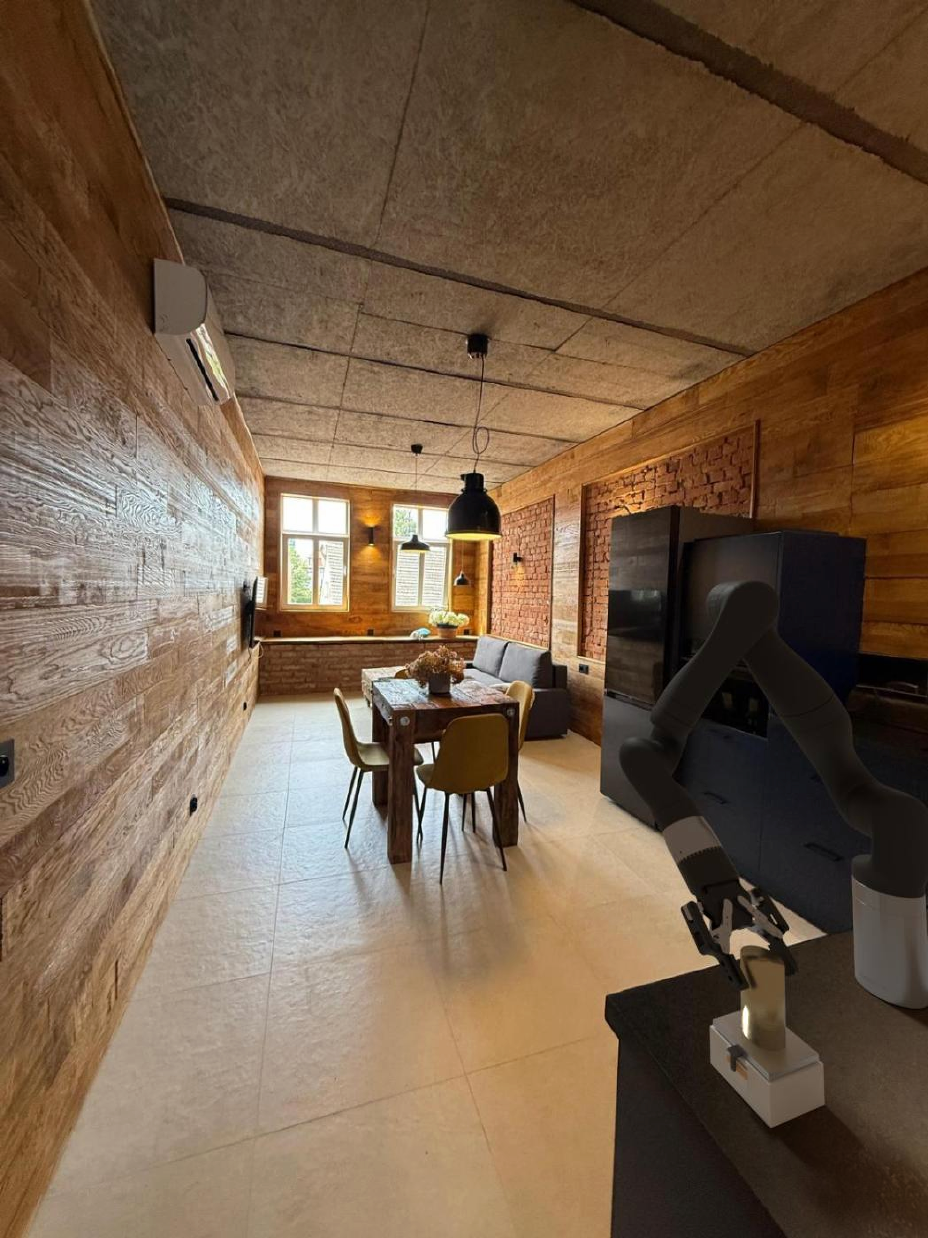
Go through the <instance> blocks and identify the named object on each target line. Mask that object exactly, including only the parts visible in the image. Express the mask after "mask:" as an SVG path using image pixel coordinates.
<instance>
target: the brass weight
mask: <svg viewBox="0 0 928 1238" xmlns="http://www.w3.org/2000/svg"><path fill="white" fill-rule="evenodd" d="M739 951H740V952H739V954H740V955H739V959H740V962H739V966H740V968H741V970H742V972H743V974H744V976H745V978H746V979H747V981H748V983H749V989H746V990H743V991H740V1010H741V1028H742V1031H743V1033H744V1034H745V1036H746V1037H747V1038H748V1039H749V1040H750V1041H751V1042H753V1043H754V1044H756V1045H757V1046H759V1047H761V1048H764V1049H767V1050H771V1051H779V1050H782V1049H784V1047H785V1045H786V1029H785V1026H786V985H785V984H786V983H785V980H786V979H785V978H786V976H785V969H784V962H783V960H782V959H781V958H780V957H779V956H778V955H777V954H775V953H774V952H772V951H770V949H769V948H766V947H763V946H760V945H752V944H748V945H744V946H742V947H741V948H740V950H739Z"/></svg>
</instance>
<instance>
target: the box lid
mask: <svg viewBox="0 0 928 1238" xmlns="http://www.w3.org/2000/svg"><path fill="white" fill-rule="evenodd" d="M712 1025H713V1026H714V1027H715V1028H716V1029H717V1030H718V1031H719V1032H720V1033H721V1034H722V1035H723V1036H724V1037H726V1038H727V1039H728V1040H729V1041H730V1042H731V1043H732V1044H733V1046H731V1047H728V1051H729V1052H730V1067H731V1070H732V1071H733V1072H736V1058H739V1057H741V1056H743V1055H744V1056H745V1057H746V1058H747V1059H748V1060H749V1061H750V1062H751V1063H752V1064H753V1065H754V1066H755V1067H756V1068H757V1069H758V1070H759V1071H760V1072H761V1073H762V1074H763V1075H764V1076H765V1077H766V1078H767V1079H768V1080H771V1079H774V1078H776V1077H779V1076H781V1075H784V1074H786V1073H789V1072H792V1071H794V1070H797V1069H799V1068H802V1067H804V1066H807V1065H809V1064H812V1063H814V1062H817V1061H820V1053H818V1052H817V1051H816V1050H815V1049H813V1048H812V1047H811V1046H810V1045H809V1044H808V1043H807V1042H806V1041H804V1040H802V1038H800V1037H799V1036H798V1035H797V1034H796V1033H795V1032H793V1031H792V1030H790V1028H789V1027H788V1026H786V1025H785V1029H786V1045H785V1047H784V1049H782V1050H779V1051H771V1050H767V1049H764V1048H761V1047H759V1046H757V1045H756V1044H754V1043H753V1042H751V1041H750V1040H749V1039H748V1038H747V1037H746V1036H745V1034H744V1033H743V1031H742V1028H741V1009H740V1010H737V1011H733V1012H731V1013H728V1014H726V1015H721V1016H719V1017H716V1018H713V1019H712Z"/></svg>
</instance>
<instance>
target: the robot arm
mask: <svg viewBox="0 0 928 1238" xmlns="http://www.w3.org/2000/svg"><path fill="white" fill-rule="evenodd" d="M780 600H781V599H780V597H779V594H778V593H777V590H775V588H773V586H772V585H770V584H768V583H767V582H764V581H761V580H755V579H742V580H741V579H740V580H730V581H726V582H721V583H719V584H718V585H715V586H714V587H713V588H712V589H711V590H710V591H709V593H708V594H707V597H706V601H705V611H706V614H707V617H708V619H709V620H710V622H711V624H712V625H713V628H712V630H711V632H710V634H709V636H708V637H707V639H706V640H705V642H704V643H703V644H702V646H701V647H700V648H699V650H698V651H697V652H696V653H695V655H693V657H692V658H691V659H690V660H689V661H688V662H687V663H686V664H685V665H684V666H682V668H681V669H680V670H679V671H678V672H677V673H676V674H675V675H674V677H672V679H671V680H670V682H669V683H668V684H667V685H666V687H665V688H664V690H663V692H662V694H661V695H660V697H659V699H658V700H657V701H656V703H655V705H654V707H653V708H652V710H651V711H650V713H649V714H650V715H649V721H650V723H651V724H652V725H653V728H652V730H651V733H650V735H649V737H648V739H647V738H645V737H642V736H631V737H628V738H626V739H625V740H624V741H623V742H622V743H621V745H620V747H619V750H618V761H619V764H620V768H621V770H622V771H623V774H624V776H625V777H626V779H627V780H628V782H629V784H630V785H631V786H632V787H633V789H634V790H635V792H636V793H637V794H638V795H639V797H640V798H641V799H642V800H643V802H644V803H645V804H646V805H647V807H648V808H649V811H650V812H651V815H652V817H653V819H654V821H655V823H656V825H657V827H658V828H659V831H660V832H661V834H662V837H663V839H664V842H665V845H666V848H667V849H668V852H669V854H670V855H671V857H672V860H673V861H674V863H675V866H676V867H677V869H678V872H679V873H680V876H681V877H682V878H683V881H684V882H685V885H686V887H687V889H688V890H689V891H688V892H689V893H690V894H691V895H692V896H694V897H695V899H696V902H695V901H694V900H690V901H688V902H686V903H685V904H684V905H682V906H681V907H680V912H681V914H682V916H683V919H684V921H685V924H686V926H687V928H688V930H689V932H690V935H691V937H692V939H693V941H694V944H695V946H696V949H697V951H698V953H699V954H700V955H701V956H711V957H713V958H715V960H716V961H717V962H718V964H719V966H720V969H721V971H722V972H723V974H724V976H725V978H726V980H727V982H728V984H729V985H730V987H732V988H734V990H735V992H738V993H739V992H740V993H741V991H743V990H746V989H749V983H748V981H747V979H746V978H745V976H744V974H743V972H742V970H741V968H740V963H738V960H737V959H736V956H735V954H734V953H730V952H731V944H730V943H731V941H730V939H731V937H732V933H734V932H735V931H741V930H744V929H745V930H746V929H747V930H748V931H749V932H750V933H751V932H752V933H754V934H756V935H757V936H759V937H760V938H761V939H762V940H763V941H765V942H766V943H768V945H767V947H768V948H767V949H768V950H770V951H772V952H774V953H775V954H777V955H778V956H779V957H780V958H781V959H782V960H783V962H784V969H785V977H788V978H789V977H792V976H794V975H797V974H799V968H798V967H799V966H798V963H797V961H796V959H795V958H794V956H793V954H792V953H791V951H790V949H789V948H788V946H787V944H786V942H785V940H784V935H785V934H786V932H788V931H789V930H790V926H789V923H787V920H785V918H784V916H783V914H782V913H781V912H780V910H779V909H778V907H777V906H776V904H775V902H774V901H773V900H772V898H771V896H770V895H769V894H768V892H767V891H766V889H765V888H764V887H763V886H762V885H760V884H758V885H756V886H754V887H753V888H751V889H749V890H747V889H745V888H744V887H743V885H742V883H741V882H740V873H739V872H738V871H737V868H736V867H735V865H734V863H733V862H732V860H731V858H730V857H729V855H728V853H727V851H726V850H725V848H724V846H723V845H722V843H721V842H720V840H719V838H718V836H717V835H716V833H715V832H714V830H713V828H712V827H711V826H710V825H709V823H708V822H707V820H706V819H705V818H704V816H703V815H702V813H701V812H700V809H699V808H698V806H697V804H696V803H695V800H694V799H693V797H692V796H691V794H690V793H689V792H688V790H687V789H686V788H685V787H684V786H682V785H680V784H679V783H678V782H676V781H675V780H674V779H673V777H672V774H673V773H674V772H675V771H676V769H677V767H678V764H679V762H680V760H681V757H682V755H683V752H684V749H685V747H686V742H687V739H688V735H689V734H690V733H691V731H692V730H693V728H694V727H695V725H696V723H697V722H698V720H699V719H700V717H701V716H702V714H703V713H704V711H705V709H707V706H708V704H709V703H710V702H711V700H712V698H713V697H714V696H715V694H716V692H717V691H718V690H719V688H720V687H721V685H722V684H723V683H724V681H725V680H726V679H727V678H728V677H729V675H730V674H731V673H732V671H733V670H734V669H735V668H736V666H737V665H738V664H739V663H740V662H741V660H742V661H743V662H744V663H745V665H746V666H747V668H748V670H749V672H750V674H751V675H752V677H753V678H754V680H755V682H756V684H757V685H758V686H759V688H760V689H761V691H762V693H763V694H764V696H765V697H766V699H767V701H768V702H769V703H770V705H771V707H772V709H773V710H774V712H775V713H776V715H777V716H778V718H779V719H780V720H781V722H782V723H783V725H784V726H785V728H786V729H787V731H788V732H789V733H790V735H791V736H792V737H793V739H794V741H795V742H796V743H797V744H798V746H799V748H800V749H801V750H802V752H803V753H804V755H805V756H806V758H807V759H808V761H810V763H811V765H812V766H813V767H814V768H815V770H816V772H817V774H818V775H819V777H820V779H821V780H822V782H823V783H822V784H823V785H824V786H825V788H826V791H827V792H828V793H829V796H830V798H831V800H832V802H833V803H834V805H835V807H836V810H837V811H838V812H839V814H840V816H841V817H842V819H843V820H844V821H845V822H846V823H847V824H848V825H849V826H850V827H851V828H852V829H854V830H855V831H858V832H859V833H861V834H863V835H864V836H866V837H868V838H870V839H871V850H870V854H859V855H855V856H854V857H853V858H852V859H851V866H850V867H851V892H852V920H853V921H852V922H853V923H852V926H853V956H854V957H853V958H854V961H853V962H854V976H855V979H856V980H857V983H859V985H861V987H863V989H865V990H866V991H867V992H869V993H871V995H874V996H876V997H877V998H879V999H881V1000H883V1001H885V1002H888V1003H889V1004H893V1005H895V1006H898V1007H901V1008H907V1009H917V1010H919V1009H924V1008H927V1007H928V928H927V927H928V926H927V925H928V924H927V905H926V904H927V903H926V902H927V901H926V885H927V883H928V808H927V807H926V805H925V804H924V803H923V802H922V801H921V800H920V799H918V798H916V797H915V796H912V795H910V794H908V793H906V792H904V791H900V790H898V789H895V788H892V787H890V786H888V785H885V784H883V783H881V782H879V781H878V780H877V779H876V778H875V777H874V775H872V774H871V773H870V771H869V770H868V769H867V767H866V766H865V765H864V763H863V762H862V760H861V759H860V757H859V756H858V755H857V753H856V750H855V747H854V744H853V725H852V720H851V717H850V715H849V713H848V711H847V709H846V707H845V705H843V703H842V701H841V700H840V699H839V697H838V695H836V693H835V691H834V690H833V688H832V687H831V685H830V684H829V683H828V682H827V681H826V680H825V679H824V678H823V676H821V675H820V674H819V672H817V670H816V669H814V668H813V667H812V666H811V665H810V664H809V663H808V662H807V661H805V660H804V659H803V658H802V657H801V656H800V655H799V654H798V653H796V652H795V651H794V650H793V649H792V648H790V646H789V645H788V644H786V643H785V642H784V640H783V639H782V638H781V637H780V635H779V634H778V632H777V631H776V629H775V628H774V626H773V624H774V623H775V621H776V620H777V618H778V617H779V614H780V610H781V601H780ZM704 917H706V918H707V919H708V920H709V921H708V922H709V923H708V924H709V925H707V924H706V922H705V921H706V920H705V919H704ZM708 926H709V927H708Z"/></svg>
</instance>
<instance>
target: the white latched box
mask: <svg viewBox="0 0 928 1238" xmlns="http://www.w3.org/2000/svg"><path fill="white" fill-rule="evenodd" d="M709 1046H710V1047H709V1051H710V1052H709V1053H710V1055H709V1058H710V1064H711V1065H712V1066H713V1067H714V1069H716V1071H717V1072H718V1073H719V1074H720V1075H721V1076H722V1077H723V1078H724V1079H725V1080H726V1081H727V1082H728V1084H729V1085H730V1086H731V1087H732V1088H733V1089H734V1090H735V1091H736V1093H737V1094H738V1095H740V1097H742V1099H743V1100H744V1101H745V1102H746V1103H747V1104H748V1106H749V1107H751V1109H752V1110H753V1111H754V1112H755V1113H756V1114H757V1116H758V1117H760V1118H761V1120H762V1121H763V1122H764V1123H765V1124H766V1125H767V1126H768V1127H769V1128H770V1129H772V1128H775V1127H776V1126H779V1125H781V1124H784V1123H785V1122H788V1121H792V1120H793V1119H795V1118H798V1117H799V1116H802V1115H805V1114H806V1113H808V1112H812V1111H814V1110H815V1109H817V1108H821V1107H822V1106H825V1075H824V1074H825V1073H824V1072H825V1071H824V1063H823V1062H822V1061H820V1060H819V1061H817V1062H814V1063H812V1064H809V1065H807V1066H804V1067H802V1068H799V1069H797V1070H794V1071H792V1072H789V1073H786V1074H784V1075H781V1076H779V1077H776V1078H774V1079H771V1080H768V1079H767V1078H766V1077H765V1076H764V1075H763V1074H762V1073H761V1072H760V1071H759V1070H758V1069H757V1068H756V1067H755V1066H754V1065H753V1064H752V1063H751V1062H750V1061H749V1060H748V1059H747V1058H746V1057H745V1056H744V1055H743V1056H741V1057H739V1058H736V1072H733V1071H732V1070H731V1067H730V1052H729V1051H728V1047H731V1046H733V1044H732V1043H731V1042H730V1041H729V1040H728V1039H727V1038H726V1037H724V1036H723V1035H722V1034H721V1033H720V1032H719V1031H718V1030H717V1029H716V1028H715V1027H714V1026H713V1024H711V1025H709Z"/></svg>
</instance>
